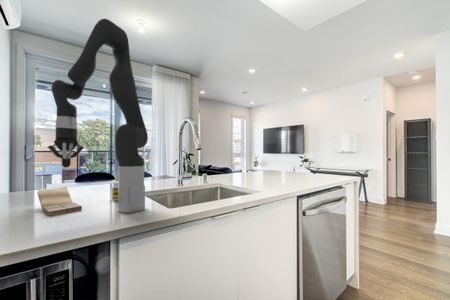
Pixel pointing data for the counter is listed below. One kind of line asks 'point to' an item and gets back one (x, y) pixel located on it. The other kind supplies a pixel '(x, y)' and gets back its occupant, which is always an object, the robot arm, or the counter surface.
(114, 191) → the supplement bottle
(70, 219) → the counter surface
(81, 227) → the counter surface
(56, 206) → the brown flat square block
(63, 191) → the oak plank
